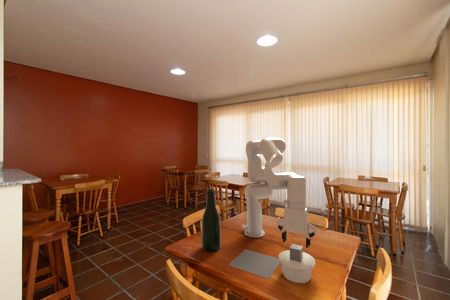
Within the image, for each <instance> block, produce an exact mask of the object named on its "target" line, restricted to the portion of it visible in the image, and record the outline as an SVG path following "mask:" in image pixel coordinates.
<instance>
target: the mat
mask: <svg viewBox="0 0 450 300" xmlns="http://www.w3.org/2000/svg"><path fill="white" fill-rule="evenodd" d="M279 265H281V263H280V262H279V260H278V257H274V256H270V255H267V254H263V253H260V252H256V251H254V250H249V249H244V250H243V251H242V252H241V253H240V254H238V256H236V257H235V258H234V259H233V260H232V261H231V262H230V263H228V266H229V267H233V268H235V269H238V270H241V271H244V272H247V273H249V274H250V273H251V274H252V275H255V276H259V277H261V278H265V279H267V280H269V279H271V276H272V275H273V274H274V272H275V271H276V270H277V269H278V267H279Z"/></svg>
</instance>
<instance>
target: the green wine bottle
mask: <svg viewBox="0 0 450 300" xmlns="http://www.w3.org/2000/svg"><path fill="white" fill-rule="evenodd" d="M215 194H216V192H215V189H214V188H213V187H208V188H207V190H206V204H205V205H206V206H205V208H204V212H203V215H202V218H201V249H202V250H203V251H204V250H205V251H204V252H206V251H207V252H208V253H215V252H218V251H220V249H221V246H222V241H221V240H222V239H221V237H222V235H221V219H220V214H219V211H218V208H217V207H216V197H215V196H216V195H215ZM214 251H215V252H214ZM207 252H206V253H207Z"/></svg>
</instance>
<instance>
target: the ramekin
mask: <svg viewBox="0 0 450 300" xmlns="http://www.w3.org/2000/svg"><path fill="white" fill-rule="evenodd" d="M280 265H281V272H282V275H283V276H284V278H286V279H287V280H288V281H290V282H293V283H297V284H306V283H308V282H309V281H310V280H311V278H312V274H313V273H312V271H313V268H312V269H309V270H294V269H290V268H288V267H286V266H284V265H282V264H281V263H280Z"/></svg>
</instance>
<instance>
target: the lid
mask: <svg viewBox="0 0 450 300" xmlns="http://www.w3.org/2000/svg"><path fill="white" fill-rule="evenodd" d="M277 258H278V260H279V262H280V265H281V264H282V265H284V266H286V267H288V268H290V269H294V270H309V269H312V270H313V268H315V266H316V259H315V258H314V257H313V255H311V254H309V253H307V252H305V251H304V249H303V245H299V244H295V243H292V244H291V245H290V247H289V250H288V249H287V250H283V251H281V252H280V253H279V254H278V257H277Z"/></svg>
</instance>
